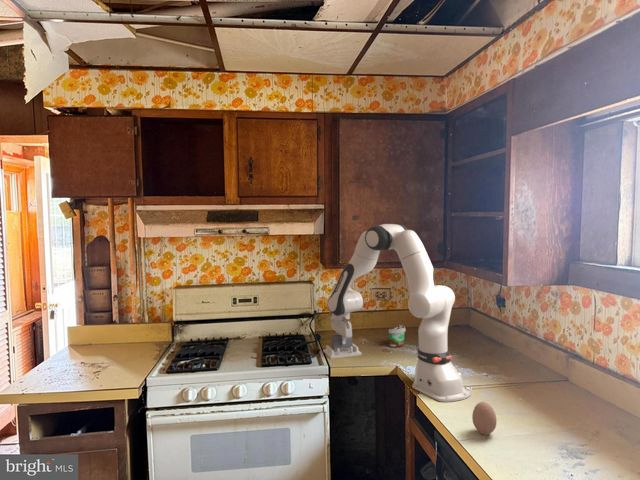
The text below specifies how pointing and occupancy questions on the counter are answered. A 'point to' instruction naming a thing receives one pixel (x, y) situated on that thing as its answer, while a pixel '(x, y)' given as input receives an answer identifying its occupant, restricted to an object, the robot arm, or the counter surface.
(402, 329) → the food container
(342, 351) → the pin tray
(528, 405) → the counter surface
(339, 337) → the block
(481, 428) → the egg
